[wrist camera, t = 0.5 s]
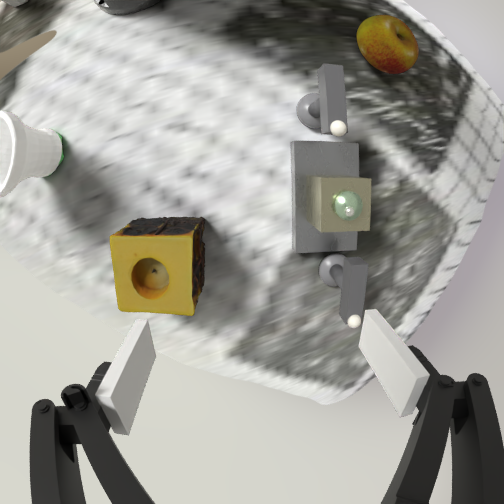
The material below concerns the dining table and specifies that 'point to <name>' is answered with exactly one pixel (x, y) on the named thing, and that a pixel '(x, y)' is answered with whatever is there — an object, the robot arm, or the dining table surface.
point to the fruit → (387, 44)
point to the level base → (319, 165)
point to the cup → (26, 152)
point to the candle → (159, 265)
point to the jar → (15, 2)
